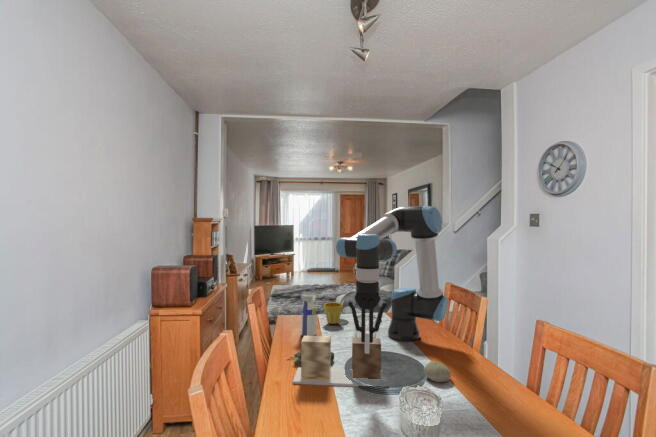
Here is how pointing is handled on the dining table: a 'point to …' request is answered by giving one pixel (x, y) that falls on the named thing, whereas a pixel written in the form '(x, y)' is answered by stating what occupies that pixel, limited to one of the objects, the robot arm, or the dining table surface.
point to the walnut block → (366, 359)
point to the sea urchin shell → (437, 372)
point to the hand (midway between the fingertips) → (366, 351)
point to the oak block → (316, 357)
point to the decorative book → (298, 355)
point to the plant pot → (333, 312)
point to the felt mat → (335, 379)
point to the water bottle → (309, 314)
